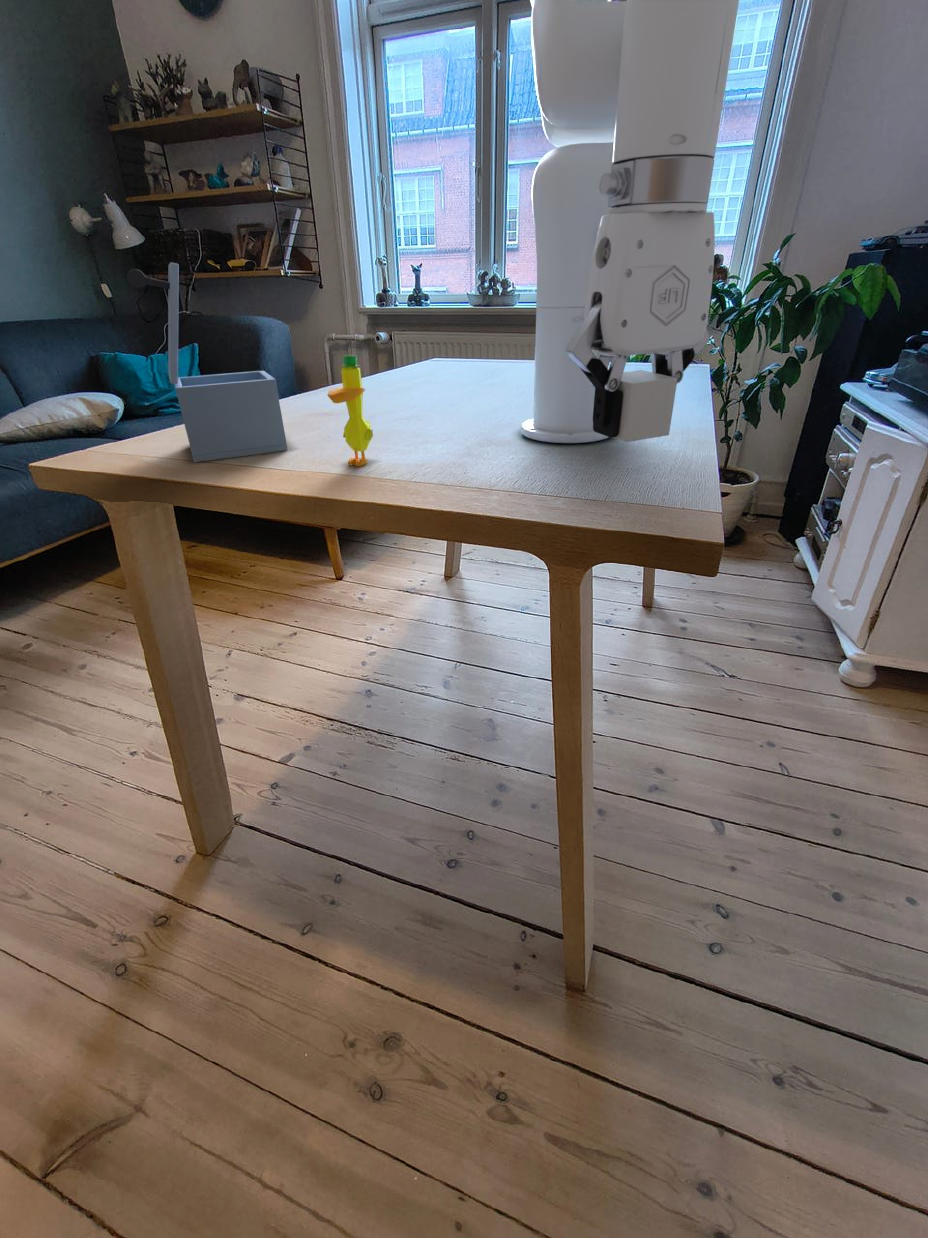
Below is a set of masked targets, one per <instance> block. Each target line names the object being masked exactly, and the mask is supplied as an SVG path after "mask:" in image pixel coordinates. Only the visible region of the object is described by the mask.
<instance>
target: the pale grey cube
mask: <svg viewBox="0 0 928 1238" xmlns="http://www.w3.org/2000/svg"><path fill="white" fill-rule="evenodd" d="M677 384H678V383H677V378H676V377H671V376H666V375H661V374H657V373H652V371H651V372H650V371H646V370H641V369H640V370H630V371H623V374H622V377H621V380H620V383H619V386H618V388H617V390H620V391H623V400H622V409H621V419H620V428H619V434H618V436H617V437H613V438H612V439H614V440H618V441H620V442H623V443H629V442H635V441H636V442H637V441H642V440H647V439H648V440H649V439H655V438H661V437H666V436H669V435H670V431H671V425H672V417H673V411H674V405H675V398H676V393H677V392H676V391H677ZM593 431H594V430H593Z"/></svg>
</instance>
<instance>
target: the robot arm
mask: <svg viewBox="0 0 928 1238" xmlns="http://www.w3.org/2000/svg"><path fill="white" fill-rule="evenodd" d="M529 2H530V5H531V22H530V23H531V24H530V25H531V28H530V31H531V33H530V35H531V36H530V37H531V51H532V61H533V73H534V83H535V91H536V96H537V101H538V106H539V108H540V116H541V122H542V128H543V132H544V135H545V136H546V139H547V140H548V142H549V143H550V144H551V145H553V146H554V147H556V148H554V149H552V150H550V151H549V152H547V153H546V154H545V155H544V156H543V157H542V158H541V159H540V161H539V162H538V164H537V165H536V167H535V170H534V173H533V176H532V183H531V207H532V215H533V216H532V217H533V226H534V238H535V251H536V305H535V307H536V310H535V341H534V342H535V343H534V344H535V346H534V371H533V372H534V373H533V374H534V376H533V405H532V406H533V407H532V409H533V411H532V418H531V419H528V420H526V421H524V422H523V423H522V424H521V432H520V433H521V435H523V436H524V437H525V438H528V439H530V440H534V441H538V442H544V443H553V444H583V443H584V444H585V443H593V442H598V441H603V440H606V439H609V438H610V439H614V438H613V437H617V436H618V434H619V428H620V419H621V409H622V400H623V391H620V390H617V388H618V386H619V383H620V380H621V377H622V374H623V372H625V367H626V365H627V361H628V358H629V357H630V356H639V355H648V354H650V362H651V369H652V371H651V372H652V373H657V374H661V375H666V376H671V377H676V378H677V384H680V383H681V381H683V378H684V372H685V371H686V369H687V368H688V367H689V366H690V364H692V362H693V361H694V358H695V356H697V355H698V354H699V352H701V351H702V350H703V349H704V348H705V346H706V345H707V344H708V343H709V342H710V340H711V339H710V338H711V337H710V336H711V335H710V333H709V330H708V328H707V325H708V322H709V321H708V319H709V313H710V305H711V298H712V291H713V290H712V288H713V280H714V279H713V278H714V268H715V267H714V266H715V265H714V264H715V248H716V245H715V244H716V241H715V240H716V238H715V237H716V236H715V229H716V228H715V227H716V226H715V214H714V213H715V212H713V211H711V212H710V211H707V210H708V203H709V197H710V191H711V185H712V178H713V172H714V166H715V165H714V164H715V157H716V151H717V143H718V139H719V131H720V126H721V125H720V124H721V118H722V112H723V106H724V99H725V94H726V93H725V92H726V87H727V80H728V73H729V68H730V61H731V55H732V48H733V41H734V35H735V30H736V22H737V17H738V10H739V4H740V3H739V2H740V0H626V1H622V0H621V1H619V0H618V1H615V0H614V1H613V0H529ZM593 430H594V431H593Z"/></svg>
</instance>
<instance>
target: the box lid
mask: <svg viewBox="0 0 928 1238" xmlns="http://www.w3.org/2000/svg"><path fill="white" fill-rule="evenodd" d="M179 266H180V265H179V264H178V263H175V262H169V264H168V266H167V267H168V274H167V275H168V276H167V278H168V281H167V280H161V279H156V278H152V277H148V276H146V275H145V273H143V272H142V270H140V269H138V268H132V269H130V270H129V271H127V275H126V277H127V280H128V282H129V283H130V285H131V286H132V287H134V288H136V289H137V288H140V289H141V288H144V287H145V285H148V286H153V287H158V288H162V289H166V290H168V292H167V293H168V297H167V298H168V299H167V301H168V304H167V305H168V306H167V307H168V308H167V309H168V315H167V316H168V318H167V319H168V320H167V323H168V324H167V325H168V329H167V330H168V333H167V335H168V337H167V339H168V340H167V341H168V342H167V343H168V346H167V347H168V348H167V349H168V351H167V355H168V356H167V360H168V361H167V363H168V365H167V367H168V368H167V369H168V372H167V373H168V379H169V383H170V384H171V385H174V384H178V378H179V277H180V276H179V272H180V271H179V270H180V269H179Z"/></svg>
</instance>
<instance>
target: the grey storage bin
mask: <svg viewBox="0 0 928 1238" xmlns="http://www.w3.org/2000/svg"><path fill="white" fill-rule="evenodd" d="M173 386H174V389H175V393H176V397H177V401H178V404H179V405H178V406H179V409H180V412H181V416H182V420H183V424H184V428H185V432H186V436H187V440H188V444H189V447H190V451H191V452H190V453H191V456H192V460H193V462H194V463H199V462H208V461H217V460H222V459H229V458H238V457H239V458H240V457H245V456H246V457H247V456H253V455H263V454H269V453H270V454H271V453H277V452H286V451H288V444H287V438H286V432H285V427H284V426H285V425H284V421H283V415H282V409H281V404H280V398H279V392H278V386H277V380H276V378H274V377H273V376H272V375H270V374H269V373H267V372H266V371H265V370H254V371H252V370H251V371H241V372H231V373H230V372H229V373H217V374H216V373H215V374H203V375H193V376H192V375H191V376H181V377H180V376H178V384H173Z"/></svg>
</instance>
